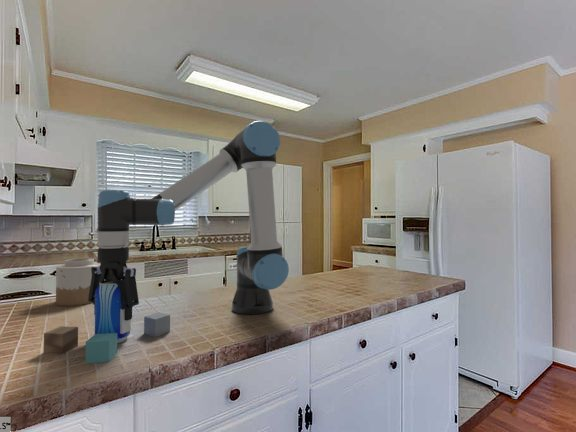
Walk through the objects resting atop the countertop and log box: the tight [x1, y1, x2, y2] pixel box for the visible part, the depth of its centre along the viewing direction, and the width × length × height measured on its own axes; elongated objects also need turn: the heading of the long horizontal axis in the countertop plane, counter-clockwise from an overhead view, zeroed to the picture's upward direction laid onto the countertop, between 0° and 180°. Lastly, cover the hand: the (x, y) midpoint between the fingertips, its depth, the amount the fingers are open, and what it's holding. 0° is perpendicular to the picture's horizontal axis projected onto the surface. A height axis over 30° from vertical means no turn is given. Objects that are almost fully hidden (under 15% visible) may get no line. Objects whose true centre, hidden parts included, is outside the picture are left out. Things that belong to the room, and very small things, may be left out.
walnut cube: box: [43, 325, 79, 355], centre depth 80 cm, size 5×5×5 cm
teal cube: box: [85, 333, 118, 364], centre depth 75 cm, size 5×5×5 cm
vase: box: [55, 257, 101, 307], centre depth 127 cm, size 15×15×17 cm
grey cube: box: [143, 311, 171, 338], centre depth 92 cm, size 5×5×5 cm
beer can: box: [94, 279, 131, 344], centre depth 86 cm, size 8×8×16 cm
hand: (112, 329), depth 86 cm, fingers closed on beer can, 8 cm apart
